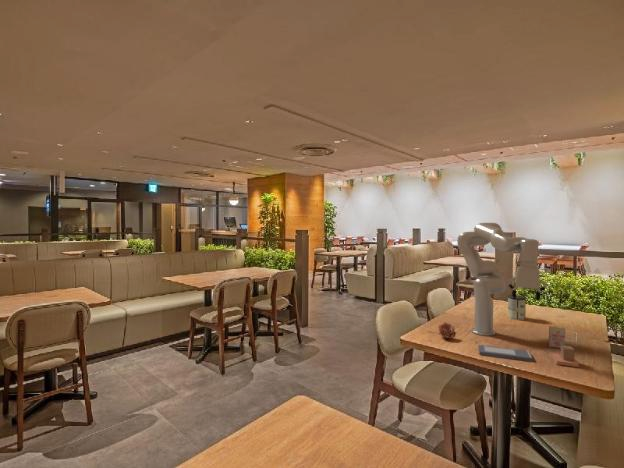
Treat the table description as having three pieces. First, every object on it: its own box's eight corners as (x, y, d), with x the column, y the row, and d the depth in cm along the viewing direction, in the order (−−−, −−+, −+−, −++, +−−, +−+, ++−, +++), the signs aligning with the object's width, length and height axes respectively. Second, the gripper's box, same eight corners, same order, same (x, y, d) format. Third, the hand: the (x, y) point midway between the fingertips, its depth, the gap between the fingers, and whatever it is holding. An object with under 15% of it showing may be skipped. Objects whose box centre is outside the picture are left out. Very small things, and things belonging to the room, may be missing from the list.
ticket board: (478, 347, 180) (478, 344, 180) (528, 354, 172) (528, 350, 172) (479, 354, 171) (479, 351, 171) (532, 361, 163) (532, 357, 163)
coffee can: (512, 315, 243) (512, 294, 242) (528, 318, 234) (529, 297, 234) (504, 317, 237) (504, 296, 236) (520, 321, 228) (521, 299, 228)
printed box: (548, 344, 186) (549, 325, 185) (564, 347, 182) (565, 327, 181) (548, 346, 183) (549, 327, 182) (564, 349, 179) (565, 329, 178)
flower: (432, 332, 199) (436, 323, 194) (444, 327, 203) (449, 318, 198) (444, 346, 192) (448, 337, 188) (456, 341, 196) (461, 332, 191)
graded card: (552, 337, 196) (554, 329, 210) (552, 338, 196) (554, 330, 210) (576, 341, 190) (576, 332, 204) (576, 342, 190) (576, 333, 204)
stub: (551, 356, 169) (551, 342, 168) (571, 358, 166) (572, 345, 165) (556, 364, 159) (557, 349, 159) (578, 367, 156) (579, 352, 156)
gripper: (509, 264, 174) (506, 298, 175) (550, 267, 168) (548, 302, 169) (506, 262, 181) (504, 295, 182) (546, 264, 175) (544, 299, 176)
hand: (525, 298), depth 176 cm, fingers open, 9 cm apart
